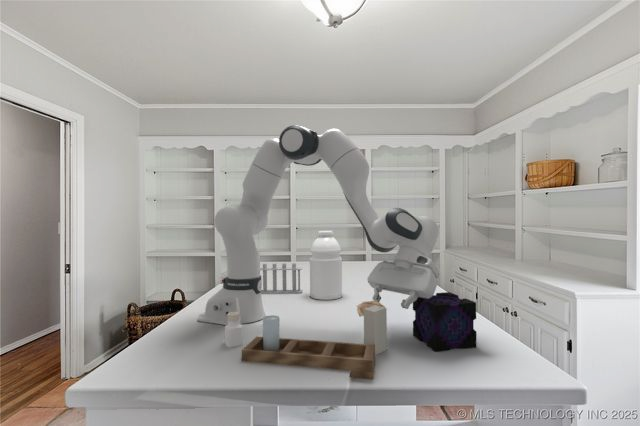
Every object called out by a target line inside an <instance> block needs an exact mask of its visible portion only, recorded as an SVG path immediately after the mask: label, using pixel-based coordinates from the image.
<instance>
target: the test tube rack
mask: <svg viewBox="0 0 640 426" xmlns="http://www.w3.org/2000/svg"><path fill="white" fill-rule="evenodd" d="M267 264H268V263H265V262H264V263H262V267H260V271H262V291H261V295H268V294H269V295H270V294H271V295H272V294H273V295H274V294H275V295H277V294H279V295H281V294H283V295H286V294H288V295H289V294H295V295H297V294H303V289H301V271H302V270H303V267H301V266H299V267H297V263H294V262H292V263H291V266H292V267H287V263H282V264H281V266H282V267H277V263H272V267H268V266H267ZM268 271H272V289H268V275H267V274H268ZM277 271H282V289H278V286H277V282H278V281H277V277H278V275H277V274H278V273H277ZM287 271H291V275H292V276H291V277H292V280H291V281H292V285H291V286H292V288H291V289H287ZM297 272H298V273H297ZM297 280H298V281H297ZM297 285H298V287H297ZM297 288H298V289H297Z"/></svg>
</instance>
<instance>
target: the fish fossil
mask: <svg viewBox="0 0 640 426" xmlns="http://www.w3.org/2000/svg"><path fill="white" fill-rule="evenodd" d="M375 305H377V306H381V307H385V308H386V306H384V305H383V304H382V303H381V302H375V301H374V300H369V301H362V302H361V303H359V304H358V305H356V311H357V315H358V316H359V317H364V309H366V308H369V307H372V306H375Z"/></svg>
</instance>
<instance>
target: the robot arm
mask: <svg viewBox="0 0 640 426" xmlns="http://www.w3.org/2000/svg"><path fill="white" fill-rule="evenodd" d="M322 161H323V163H325V165H326V166H327V167H328V168H329V170H330V172H332V174H333V175H334V177H335V178H336V180H337V182H338V183H339V186H340V187H341V190H342V193H343V194H344V197H345V199H346V201H347V203H348V206H349V207H350V208H351V210H352V211H353V213H354V215H355V216H356V218H357V220H358V221H359V223H360V224H361V226H362V228H363V230H364V234H365V236H366V239H367V242H368V244H369V246H370V247H371V248H372V249H374V250H375V251H377V252H380V253H389V252H391V251H393V250H394V249H395V248H396V247H397V246H398V247H399V248H398V250H397V253H396V254H395V256H394V258H393V260H392V261H389V260H383V261H380V262H378V263H377V264H376V266H375V267H374V268H372V271H371V272H370V273H369V275H368V277H367V283H368V285H369V286H370V287H371V288H372V289H373V291H374V294H373V296H372V299H371V300H372V301H375V302H379V303H381V302H380V301H381V299H382V297H381V295H380V293H382V291H387V292H391V293H392V292H393V293H397V294H402V295H407V296H408V297H406V299H404V298H403V299H402V300H401V303H400V306H401V308H402V309H406V310H408V309H409V308H410V306H411V304H412V305H413V302H414V301H416V300H417V298H418V297H422V298H427V299H429V298H431V297H432V296H433V295H435V291H436V289H437V287H438V279H439V277H440V271H439V269H438V267H437V266H436V264H435V263H434V261H433V260H432V259H431V258H429V256H430V255H431V254H432V252H433V251H434V248H435V246H436V244H437V241H438V238H439V225H438V223H437V222H436V221H435V220H434V219H432V218H431V217H429V216H425V215H420V216H419V215H414V214H412V213H410V212H409V211H408V210H406V209H403V208H401V207H394V208H391V209H388V211H386V212H385V214H383V215H382V216H381V217H380V216H379V215H378V213H377V211H376V209H375V208H374V206H373V205H372V204H371V202H370V201H369V198H368V195H367V185H368V184H367V182H368V179H369V175H370V164H369V162H368V161H367V158H366V156H365V155H364V154H363V153H362V151H361V150H360V149H359V147H358V146H357V145H356V144H355V143H354V142H353V140H351V138H349V136H347V135H346V134H345V133H344V132H343V131H342V130H340V129H338V128H331V129H327V130H326V131H324V132H323V133H321V134H318V133H317V131H315V130H314V129H313V130H312V129H309V128H307V127H304V126H300V125H290V126H287V127H286V128H284V129H283V131H282V132H281V133H280V135H279V137H278V138H275V137H271V138H270V137H269V138H268V139H266V140H265V141H264V142H263V144H262V145H261V147H260V148H259V149H258V151H257V152H256V154H255V156H254V158H253V160H252V162H251V164H250V165H249V169H248V170H247V173H246V175H245V178H244V179H243V181H242V190H243V192H242V197H241V201H240V203H239V204H234V203H233V204H229V205H226V206H224V207H222V208H221V209H219V210H218V211H217V212H216V214H215V217H214V227H215V229H216V231H217V232H218V233H219V234H220V236H221V238H222V240H223V244H224V248H225V252H226V263H227V264H226V265H227V270H226V271H227V275H226V276H225V278H223V279H221V280H220V285H221V284H223V285H222V288H221V289H219V291H217V292H216V293H215V294H213V295H212V296H211V297H210V298H208V299H207V301H206V304H205V310H204V312H202V313H201V314H200V315H199V316H198V319H197V321H198V322H203V323H211V324H218V325H223V326H226V325H228V321H227V314H228V313H230V312H239V313H240V320H239V324H241V325H243V324H249V323H254V322H257V321H261V320H263V317H266V314H265V313H266V312H265V310H264V305H263V299H262V294H261V291H262V290H263V280H262V275H261V270H260V268H261V255H260V254H261V253H260V252H259V250H258V248H257V246H256V242H255V241H256V240H255V238H254V236H255V235H258V234H259V233H261V232H262V231H263V230H265V229H266V228H267V226H268V223H269V212H270V206H271V203H272V200H273V198H274V194H275V192H276V191H277V188H278V186H279V184H280V182H281V181H282V177H283V176H284V173H285V171H286V169H287V168H288V166H289V165H290V164H292V163H294V165H295V164H296V165H300V166H308V167H309V166H315V165H317V164H319V163H320V162H322Z"/></svg>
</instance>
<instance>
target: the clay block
mask: <svg viewBox="0 0 640 426" xmlns="http://www.w3.org/2000/svg"><path fill="white" fill-rule="evenodd" d="M387 321H388V317H387V307H386V306H385V307H381V306H377V305H375V306H372V307H369V308H366V309H364V316H363V344H371V345H375V356H378V355H379V354H381V353H384V352H386V351H388V328H387V327H388V326H387V325H388V324H387V323H388V322H387Z"/></svg>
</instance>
